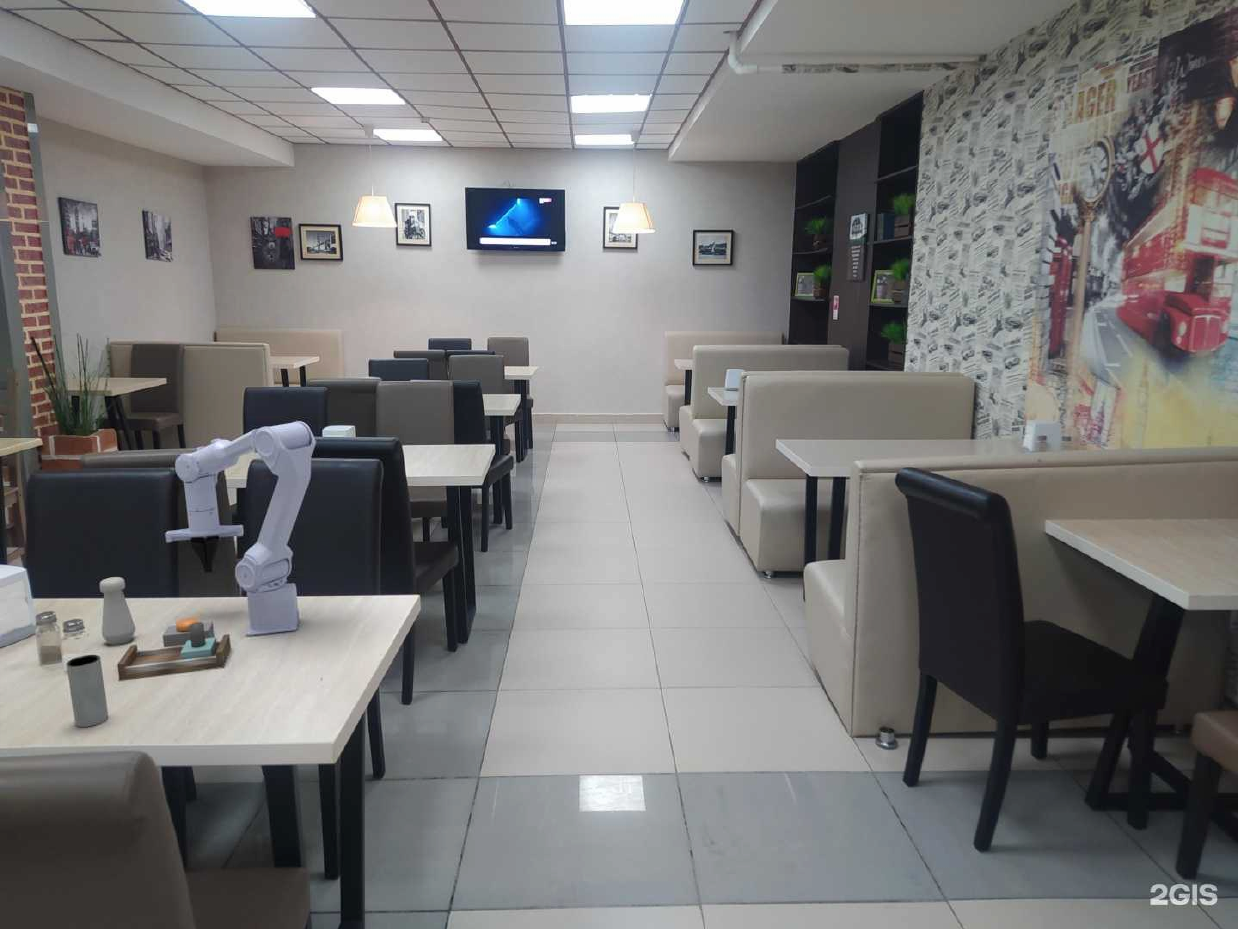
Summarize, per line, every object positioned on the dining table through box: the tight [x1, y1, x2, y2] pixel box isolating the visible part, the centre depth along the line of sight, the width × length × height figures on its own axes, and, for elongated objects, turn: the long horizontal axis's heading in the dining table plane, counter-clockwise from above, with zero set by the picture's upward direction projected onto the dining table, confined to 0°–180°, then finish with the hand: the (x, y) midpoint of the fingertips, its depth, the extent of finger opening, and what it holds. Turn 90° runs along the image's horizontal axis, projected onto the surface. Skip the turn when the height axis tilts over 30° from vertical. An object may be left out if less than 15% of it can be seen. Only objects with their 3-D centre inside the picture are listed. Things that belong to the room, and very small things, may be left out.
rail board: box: [116, 633, 232, 681], centre depth 154 cm, size 17×9×3 cm, turn 107°
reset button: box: [175, 617, 200, 631], centre depth 163 cm, size 4×4×4 cm
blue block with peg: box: [180, 621, 217, 660], centre depth 155 cm, size 5×6×6 cm
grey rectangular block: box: [162, 621, 215, 647], centre depth 163 cm, size 8×5×4 cm, turn 107°
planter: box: [66, 654, 109, 728], centre depth 132 cm, size 4×4×10 cm
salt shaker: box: [99, 576, 136, 646], centre depth 165 cm, size 6×6×13 cm
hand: (209, 571), depth 176 cm, fingers closed
